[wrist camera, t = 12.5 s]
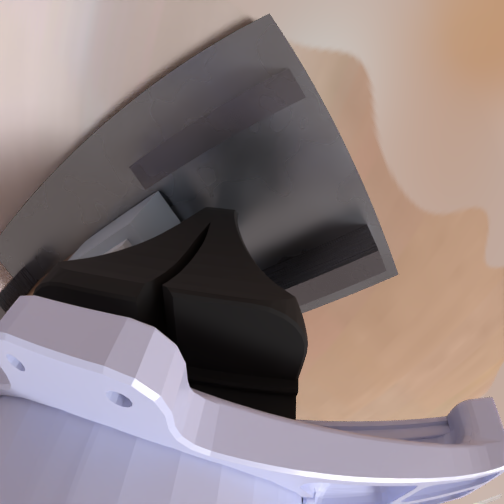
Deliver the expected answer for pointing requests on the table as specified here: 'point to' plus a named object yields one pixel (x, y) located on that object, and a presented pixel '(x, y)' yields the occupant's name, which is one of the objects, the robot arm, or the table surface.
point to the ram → (130, 228)
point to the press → (218, 174)
